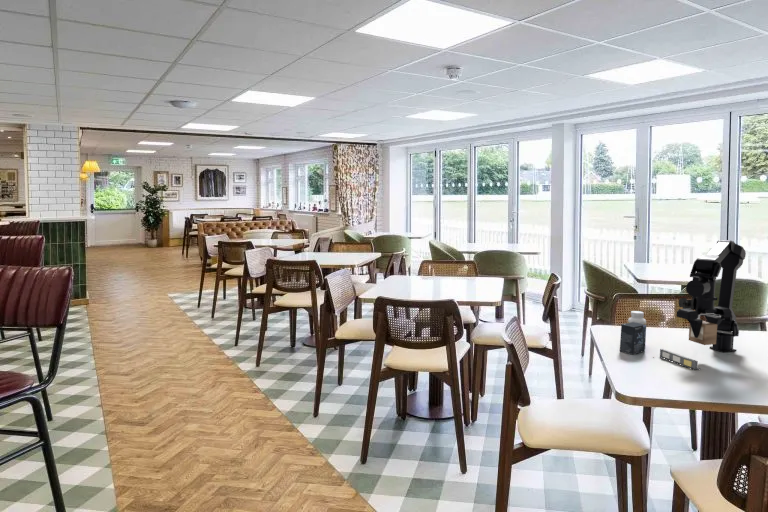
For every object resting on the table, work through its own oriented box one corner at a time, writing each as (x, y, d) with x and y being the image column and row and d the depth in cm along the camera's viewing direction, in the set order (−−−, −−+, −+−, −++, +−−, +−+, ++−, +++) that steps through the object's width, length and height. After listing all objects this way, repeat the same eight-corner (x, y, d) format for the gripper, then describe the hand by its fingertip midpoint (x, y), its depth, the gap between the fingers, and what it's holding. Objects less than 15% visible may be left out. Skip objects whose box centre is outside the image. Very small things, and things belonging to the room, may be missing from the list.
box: (633, 354, 209) (634, 326, 208) (619, 351, 214) (620, 323, 213) (645, 351, 214) (646, 324, 212) (631, 348, 218) (633, 321, 217)
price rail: (659, 357, 206) (659, 349, 206) (665, 356, 207) (665, 348, 207) (694, 370, 191) (694, 361, 191) (700, 369, 192) (700, 360, 191)
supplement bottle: (644, 342, 227) (646, 310, 225) (646, 346, 221) (647, 314, 219) (626, 341, 229) (627, 309, 228) (627, 345, 223) (629, 313, 221)
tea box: (716, 344, 198) (717, 324, 197) (704, 345, 197) (705, 325, 196) (700, 339, 205) (701, 320, 204) (688, 340, 204) (689, 320, 203)
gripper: (708, 288, 209) (705, 330, 211) (666, 290, 204) (663, 333, 206) (734, 293, 198) (731, 337, 200) (690, 296, 193) (687, 341, 195)
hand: (702, 337), depth 201 cm, fingers closed on tea box, 5 cm apart
